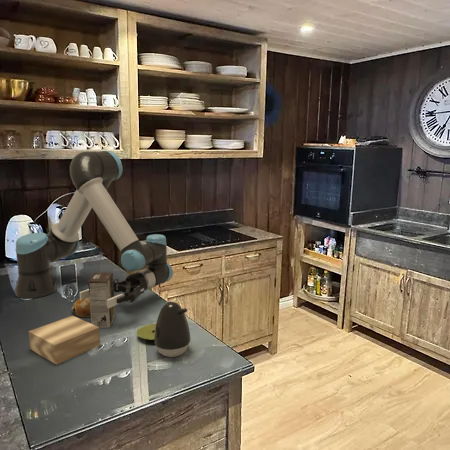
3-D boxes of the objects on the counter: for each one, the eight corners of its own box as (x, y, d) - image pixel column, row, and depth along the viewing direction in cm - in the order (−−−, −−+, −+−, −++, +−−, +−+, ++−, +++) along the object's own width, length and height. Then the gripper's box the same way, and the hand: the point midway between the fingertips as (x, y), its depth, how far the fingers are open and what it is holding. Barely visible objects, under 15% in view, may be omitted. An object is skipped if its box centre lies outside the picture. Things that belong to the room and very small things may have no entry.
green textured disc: (180, 333, 129) (180, 327, 129) (158, 348, 119) (158, 342, 119) (152, 326, 134) (152, 320, 134) (129, 340, 125) (128, 334, 124)
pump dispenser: (176, 365, 110) (174, 312, 107) (147, 355, 115) (145, 304, 113) (198, 349, 119) (197, 300, 116) (170, 341, 124) (168, 293, 121)
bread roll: (89, 328, 141) (97, 309, 139) (64, 314, 142) (71, 295, 140) (103, 317, 150) (111, 299, 148) (79, 304, 151) (87, 286, 149)
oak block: (30, 350, 119) (28, 331, 118) (73, 333, 130) (72, 315, 129) (56, 365, 111) (54, 345, 110) (100, 346, 122) (99, 327, 121)
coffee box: (96, 317, 142) (93, 272, 139) (115, 316, 142) (113, 271, 139) (90, 328, 133) (87, 280, 130) (110, 327, 133) (108, 280, 130)
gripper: (166, 297, 145) (121, 319, 127) (117, 285, 158) (70, 303, 140) (165, 277, 144) (120, 296, 126) (115, 266, 156) (68, 282, 138)
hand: (93, 300), depth 133 cm, fingers open, 12 cm apart
